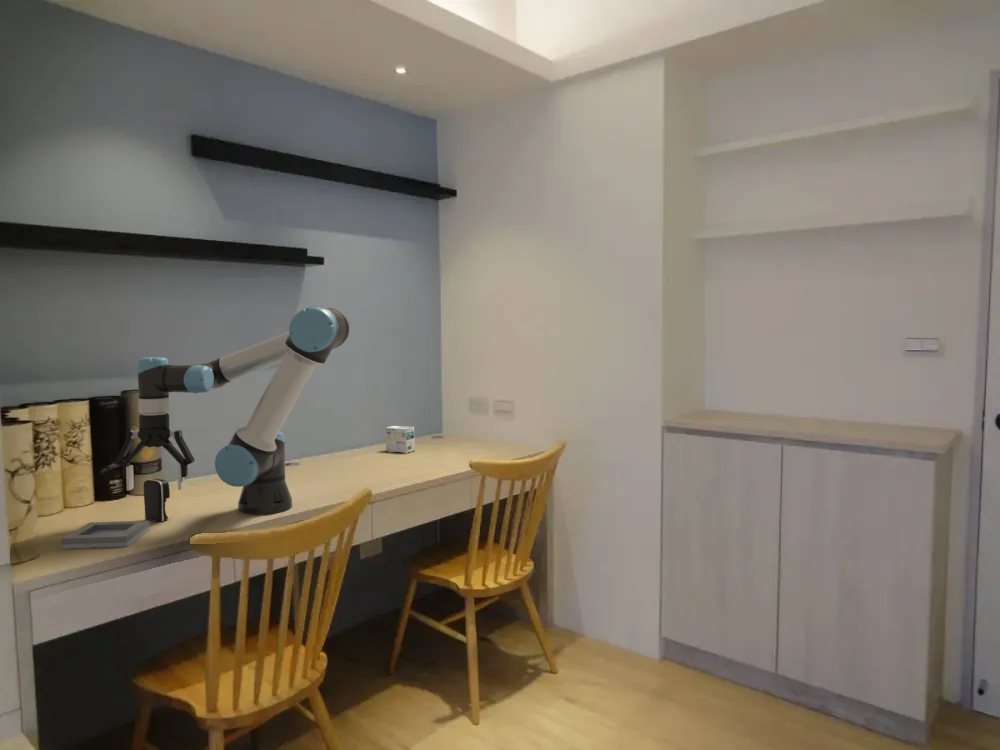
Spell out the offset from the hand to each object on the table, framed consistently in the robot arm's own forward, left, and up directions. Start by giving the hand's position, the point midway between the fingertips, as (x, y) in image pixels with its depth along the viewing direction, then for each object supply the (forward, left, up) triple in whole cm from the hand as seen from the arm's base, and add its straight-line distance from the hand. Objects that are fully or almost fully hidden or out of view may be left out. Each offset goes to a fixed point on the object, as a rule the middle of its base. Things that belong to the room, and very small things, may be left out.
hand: (155, 489), depth 193 cm
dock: (+6, +17, -9) cm, 20 cm away
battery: (0, 0, -9) cm, 9 cm away
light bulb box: (-63, -98, -9) cm, 117 cm away
